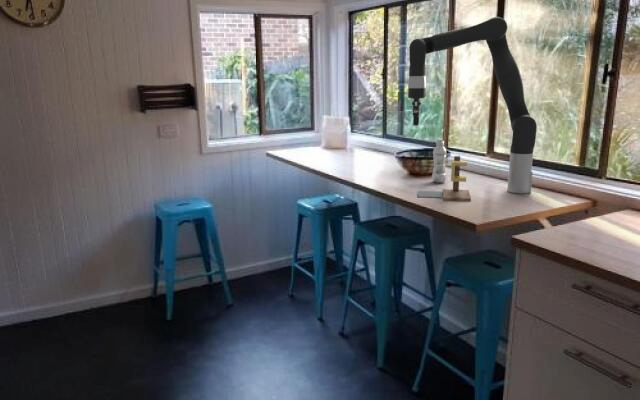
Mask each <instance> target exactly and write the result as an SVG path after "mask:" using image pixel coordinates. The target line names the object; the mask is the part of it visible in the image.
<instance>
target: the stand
mask: <svg viewBox="0 0 640 400" xmlns="http://www.w3.org/2000/svg"><path fill="white" fill-rule="evenodd" d="M453 161H461V156H460V155H454V157H453ZM460 171H461V166H455V175H454V176H460V173H461V172H460ZM442 201H447V202H449V201H450V202H451V201H453V202H471V201H472V198H471V194H470V190H469V189H460V182H455V181H452V189H447V188H442Z"/></svg>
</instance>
